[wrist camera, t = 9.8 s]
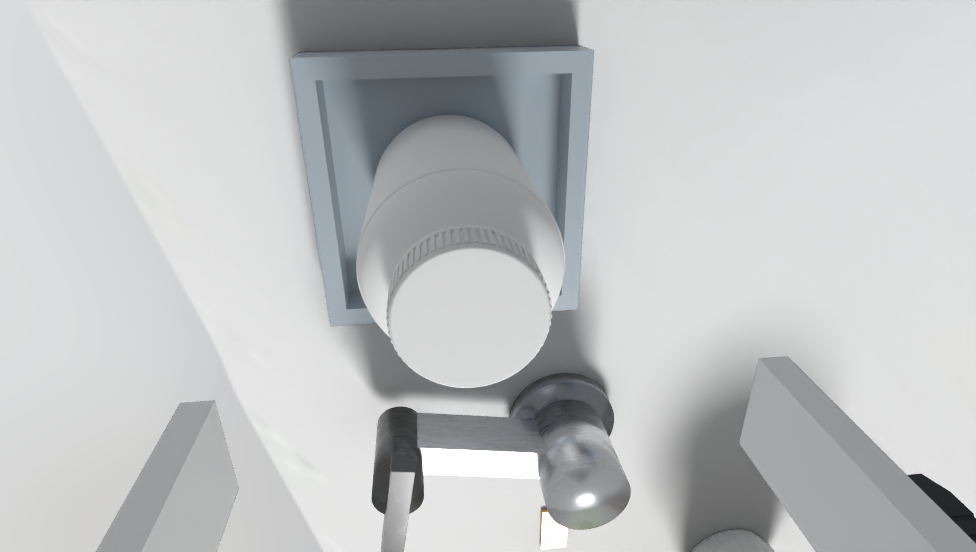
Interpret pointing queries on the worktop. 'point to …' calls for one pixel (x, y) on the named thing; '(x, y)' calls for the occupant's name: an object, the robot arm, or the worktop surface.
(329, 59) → the tray
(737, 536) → the coffee cup
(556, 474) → the crank
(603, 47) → the worktop surface
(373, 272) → the pill bottle
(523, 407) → the crank base
